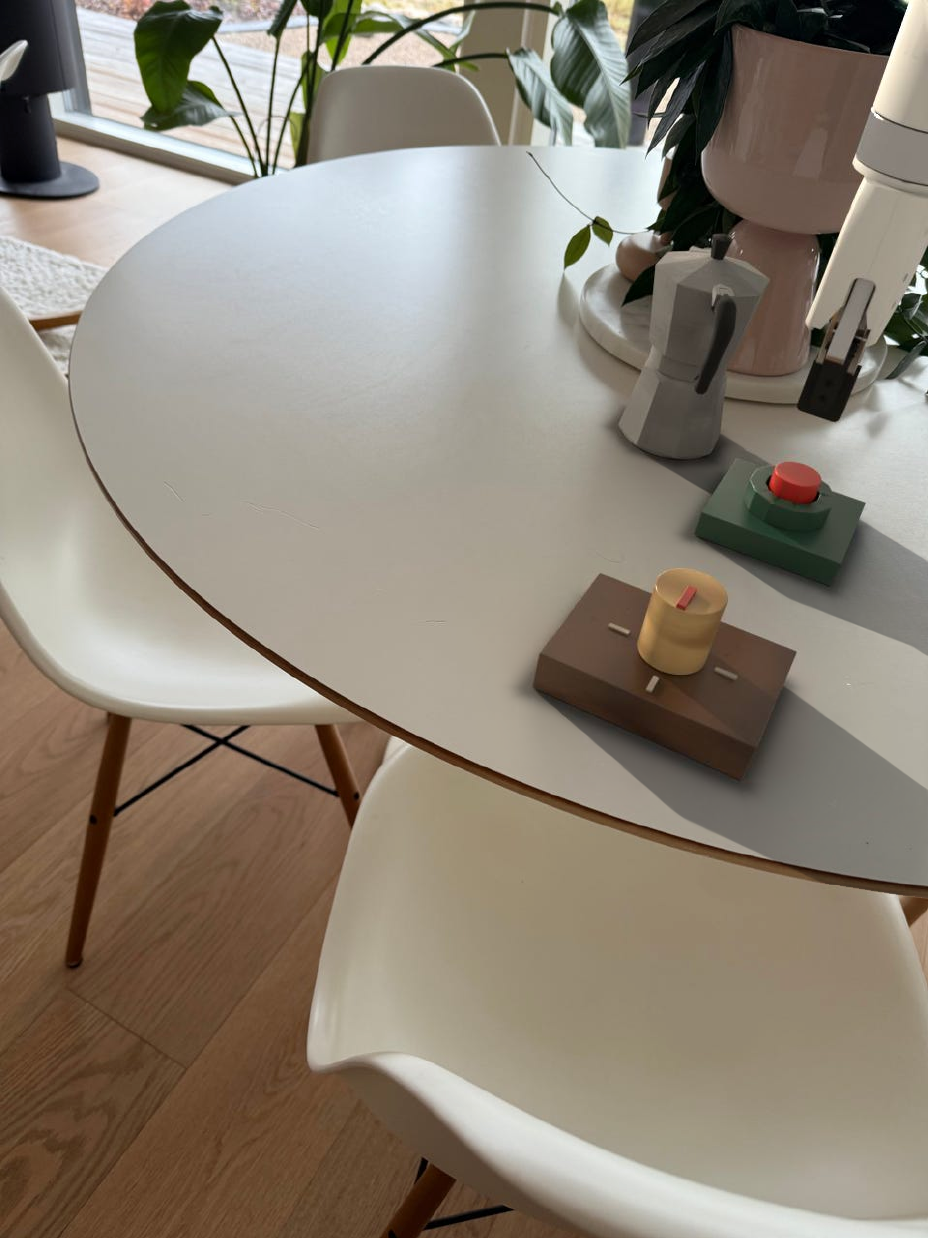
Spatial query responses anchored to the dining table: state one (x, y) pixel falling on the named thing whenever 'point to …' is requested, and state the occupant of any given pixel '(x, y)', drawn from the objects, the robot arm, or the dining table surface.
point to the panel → (664, 679)
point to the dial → (681, 621)
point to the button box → (780, 523)
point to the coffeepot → (691, 349)
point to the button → (795, 482)
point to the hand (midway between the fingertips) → (818, 411)
